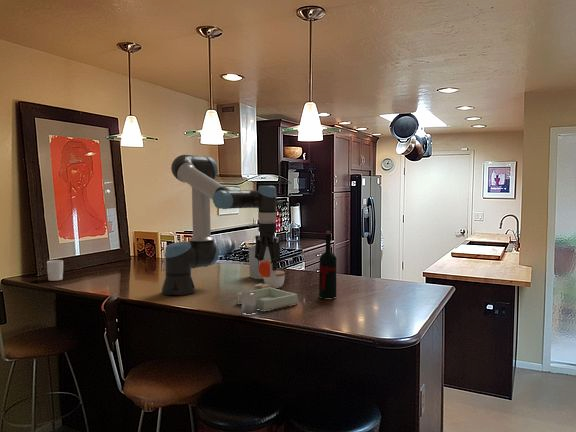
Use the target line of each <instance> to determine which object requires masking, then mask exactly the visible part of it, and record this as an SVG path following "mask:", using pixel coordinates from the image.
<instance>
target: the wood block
mask: <svg viewBox="0 0 576 432" xmlns="http://www.w3.org/2000/svg"><path fill="white" fill-rule="evenodd" d="M264 288H269V285H268V284H265V283H258V284H253V290H258V289H264Z"/></svg>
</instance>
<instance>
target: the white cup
mask: <svg viewBox="0 0 576 432" xmlns="http://www.w3.org/2000/svg"><path fill="white" fill-rule="evenodd" d="M46 271H47V277H48V278H47V279H48V281H51V282H52V281H62V280H63V278H64V277H63V276H64V260H63V259H54V260H53V259H52V260H47V261H46Z"/></svg>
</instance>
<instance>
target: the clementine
mask: <svg viewBox="0 0 576 432" xmlns="http://www.w3.org/2000/svg"><path fill="white" fill-rule="evenodd" d="M258 270H259V273H260V275H261V276H263V277H266V278H267V277H270V261H264V262H262V263H261V264H260V265H259V269H258Z"/></svg>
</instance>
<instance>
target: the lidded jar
mask: <svg viewBox="0 0 576 432" xmlns="http://www.w3.org/2000/svg"><path fill="white" fill-rule="evenodd" d="M285 276H286V272H285V271H283V270H278V269H277V270H276V278H273V279H270V277H267V278H266V277H264V279H263V282H264V284H268V285H269V287H271V288H279V287H280V288H281V287H282V286H283V285H284V282H285V279H286V277H285ZM280 288H279V289H280Z"/></svg>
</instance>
